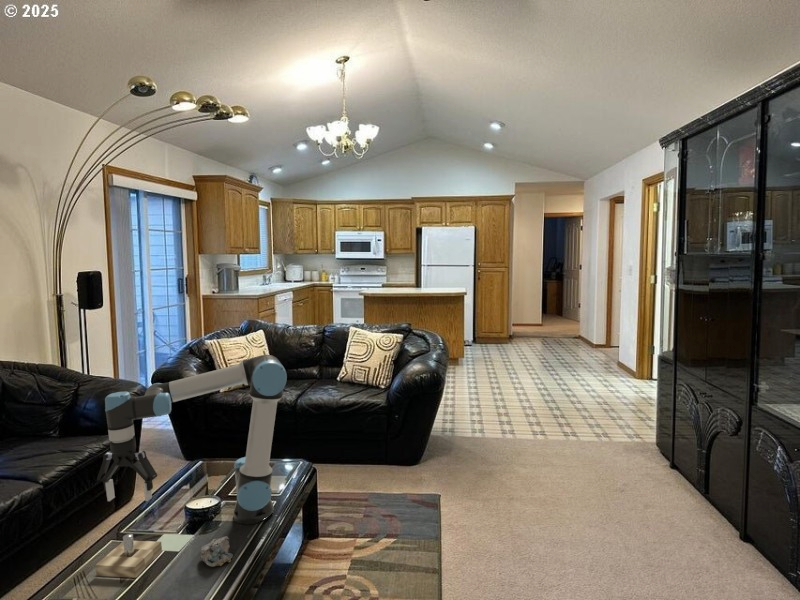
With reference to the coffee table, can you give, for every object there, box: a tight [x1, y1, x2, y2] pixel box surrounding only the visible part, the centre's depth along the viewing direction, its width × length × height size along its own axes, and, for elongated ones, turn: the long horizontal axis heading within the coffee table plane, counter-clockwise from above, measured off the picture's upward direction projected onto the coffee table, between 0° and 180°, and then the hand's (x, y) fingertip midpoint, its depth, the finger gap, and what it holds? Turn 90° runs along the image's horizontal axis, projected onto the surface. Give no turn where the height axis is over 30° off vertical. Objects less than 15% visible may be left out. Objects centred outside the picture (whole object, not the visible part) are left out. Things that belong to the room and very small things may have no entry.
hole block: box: [95, 540, 163, 578], centre depth 170 cm, size 14×14×4 cm
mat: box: [156, 533, 195, 552], centre depth 182 cm, size 12×10×1 cm
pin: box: [122, 533, 135, 557], centre depth 170 cm, size 3×3×10 cm
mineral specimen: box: [200, 535, 234, 568], centre depth 170 cm, size 10×8×10 cm
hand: (129, 499), depth 171 cm, fingers open, 13 cm apart
